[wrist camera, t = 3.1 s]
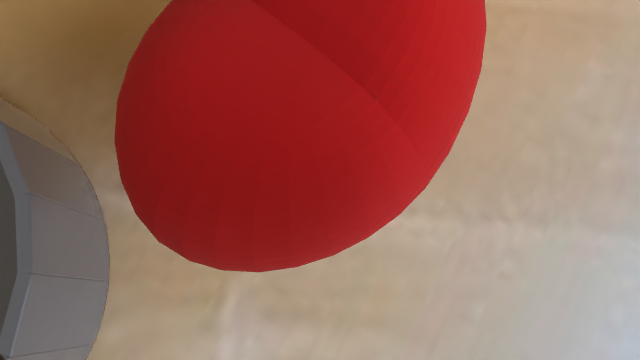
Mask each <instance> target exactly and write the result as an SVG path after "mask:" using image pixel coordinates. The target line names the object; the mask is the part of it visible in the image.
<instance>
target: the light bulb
mask: <svg viewBox="0 0 640 360" xmlns="http://www.w3.org/2000/svg"><path fill="white" fill-rule="evenodd" d="M485 34H486V12H485V0H172V1H171V2H170V3H169V4H168V5H167V7H166V8H165V9H164V10H163V11H162V12H161V14H160V15H159V16H158V17H157V18H156V20H155V21H154V22H153V23H152V24H151V25H150V27H149V28H148V30H147V31H146V33H145V35H144V36H143V38H142V40H141V42H140V44H139V45H138V47H137V49H136V51H135V53H134V55H133V56H132V58H131V60H130V62H129V65H128V68H127V71H126V74H125V77H124V81H123V84H122V87H121V90H120V93H119V97H118V101H117V112H116V126H115V147H116V153H117V160H118V166H119V172H120V177H121V181H122V184H123V186H124V188H125V191H126V193H127V195H128V197H129V200H130V202H131V204H132V207H133V209H134V211H135V213H136V215H137V216H138V217H139V219H140V220H141V221H142V222H143V223H144V225H145V226H146V227H147V228H148V229H149V231H150V232H151V233H152V234H153V235H154V236H155V238H156V239H157V240H158V241H159V242H160V243H162V244H163V245H165V246H167V247H168V248H170V249H172V250H173V251H175V252H176V253H178V254H180V255H181V256H183V257H184V258H186V259H188V260H189V261H192V262H196V263H199V264H203V265H206V266H210V267H213V268H216V269H220V270H229V271H247V272H264V271H272V270H279V269H286V268H293V267H298V266H302V265H305V264H308V263H311V262H314V261H317V260H320V259H323V258H326V257H329V256H332V255H335V254H337V253H339V252H341V251H343V250H345V249H347V248H349V247H351V246H353V245H354V244H356V243H358V242H360V241H362V240H364V239H366V238H368V237H369V236H371V235H372V234H374V233H375V232H376V231H378V230H379V229H380V228H382V227H383V226H385V225H386V224H387V223H389V222H390V221H391V220H393V219H394V218H396V217H397V216H398V215H399V214H401V213H402V211H403V210H404V209H405V208H406V207H407V206H408V205H409V204H410V203H411V202H412V201H413V200H414V199H415V198H416V197H417V196H418V195H419V194H420V193H421V192H422V191H423V190H424V189H425V188H426V186H427V185H428V183H429V182H430V180H431V179H432V177H433V176H434V175H435V173H436V172H437V170H438V169H439V167H440V166H441V164H442V163H443V161H444V160H445V158H446V157H447V155H448V154H449V152H450V150H451V148H452V146H453V143H454V141H455V139H456V137H457V135H458V133H459V131H460V129H461V127H462V124H463V122H464V120H465V118H466V116H467V114H468V112H469V108H470V105H471V102H472V98H473V95H474V92H475V88H476V85H477V81H478V78H479V75H480V71H481V66H482V58H483V50H484V42H485Z"/></svg>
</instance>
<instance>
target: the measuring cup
mask: <svg viewBox="0 0 640 360" xmlns="http://www.w3.org/2000/svg"><path fill="white" fill-rule="evenodd" d="M108 284H109V247H108V238H107V230H106V226H105V222H104V218H103V214H102V210H101V206H100V204H99V201H98V199H97V196H96V194H95V191H94V189H93V186H92V184H91V183H90V181H89V179H88V177H87V176H86V174H85V172H84V170H83V169H82V167H81V165H80V164H79V163H78V161H77V160H76V159H75V158H74V156H73V155H72V154H71V152H70V151H69V150H68V149H67V147H66V146H65V145H63V144H62V143H61V142H60V141H59V140H58V139H57V138H56V137H55V136H54V135H53V134H52V133H51V132H50V131H48V130H47V128H46V127H45V126H44V125H43V124H41V123H40V122H39V121H37V120H35V119H34V118H32V117H31V116H29V115H27V114H26V113H24V112H23V111H21V110H19V109H18V108H16V107H14V106H13V105H11V104H10V103H8V102H6V101H5V100H3V99H1V98H0V354H2V355H3V357H4V358H5V359H6V360H86V359H87V357H88V355H89V352H90V350H91V348H92V345H93V343H94V340H95V338H96V336H97V333H98V330H99V326H100V323H101V319H102V316H103V312H104V309H105V303H106V297H107V290H108Z"/></svg>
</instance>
